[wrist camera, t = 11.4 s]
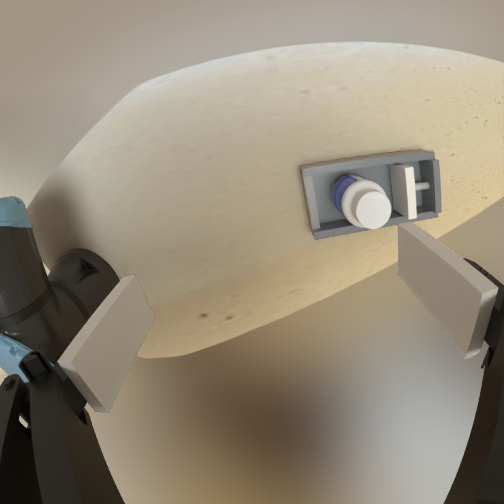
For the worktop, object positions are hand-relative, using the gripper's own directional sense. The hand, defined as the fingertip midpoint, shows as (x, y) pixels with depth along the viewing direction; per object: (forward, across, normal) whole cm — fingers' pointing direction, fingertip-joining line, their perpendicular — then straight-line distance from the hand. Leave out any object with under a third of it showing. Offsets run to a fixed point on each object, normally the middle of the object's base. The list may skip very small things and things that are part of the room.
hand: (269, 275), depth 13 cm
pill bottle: (+24, +11, -3) cm, 27 cm away
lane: (+25, +14, -3) cm, 29 cm away
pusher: (+24, +20, -3) cm, 31 cm away
